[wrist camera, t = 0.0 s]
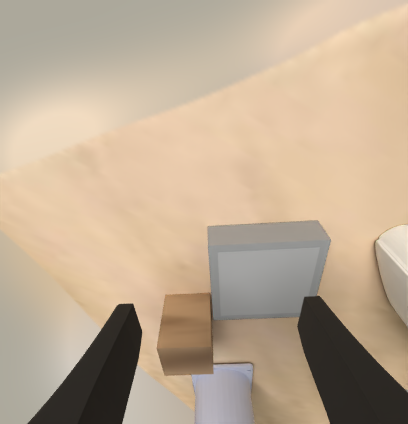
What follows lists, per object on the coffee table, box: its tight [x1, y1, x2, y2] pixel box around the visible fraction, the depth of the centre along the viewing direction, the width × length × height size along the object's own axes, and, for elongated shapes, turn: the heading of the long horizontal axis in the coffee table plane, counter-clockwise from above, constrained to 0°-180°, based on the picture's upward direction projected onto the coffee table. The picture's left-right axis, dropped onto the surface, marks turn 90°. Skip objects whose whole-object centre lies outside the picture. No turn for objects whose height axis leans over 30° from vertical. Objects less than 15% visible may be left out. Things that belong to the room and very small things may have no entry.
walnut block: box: [157, 293, 214, 376], centre depth 24 cm, size 4×4×6 cm
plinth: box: [208, 221, 331, 320], centre depth 22 cm, size 9×9×2 cm
